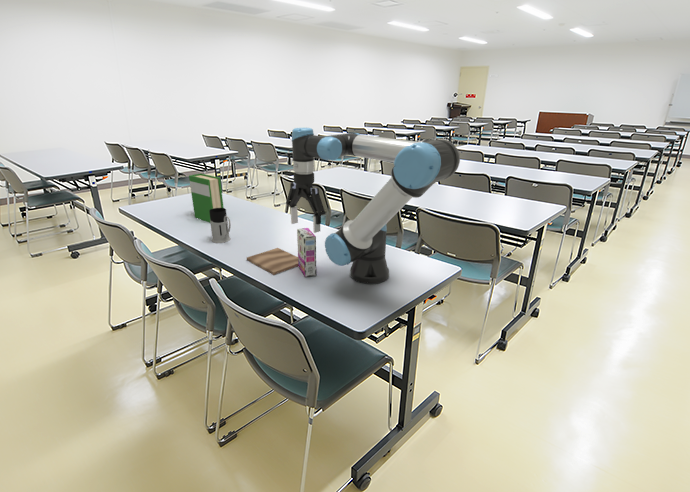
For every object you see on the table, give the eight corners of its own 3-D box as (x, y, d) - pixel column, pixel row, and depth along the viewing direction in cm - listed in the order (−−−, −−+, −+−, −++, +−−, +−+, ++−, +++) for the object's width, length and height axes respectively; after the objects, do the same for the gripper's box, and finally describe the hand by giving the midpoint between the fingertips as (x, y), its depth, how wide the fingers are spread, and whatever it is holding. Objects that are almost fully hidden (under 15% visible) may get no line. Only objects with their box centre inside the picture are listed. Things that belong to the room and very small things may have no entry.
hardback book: (225, 220, 215) (220, 177, 206) (213, 223, 209) (207, 179, 200) (206, 214, 225) (200, 173, 216) (194, 217, 219) (188, 175, 210)
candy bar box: (317, 275, 151) (316, 236, 145) (305, 277, 150) (303, 237, 144) (309, 264, 161) (308, 227, 155) (297, 266, 160) (296, 228, 153)
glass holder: (224, 235, 193) (221, 206, 187) (240, 242, 184) (237, 212, 178) (208, 239, 187) (204, 210, 181) (223, 247, 178) (220, 216, 172)
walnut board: (305, 263, 162) (305, 260, 162) (273, 275, 152) (273, 272, 151) (277, 250, 175) (277, 247, 175) (246, 260, 165) (246, 257, 164)
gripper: (275, 168, 147) (278, 221, 155) (318, 179, 130) (319, 238, 138) (291, 166, 151) (293, 217, 159) (334, 176, 135) (334, 233, 143)
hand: (305, 227), depth 149 cm, fingers open, 13 cm apart
